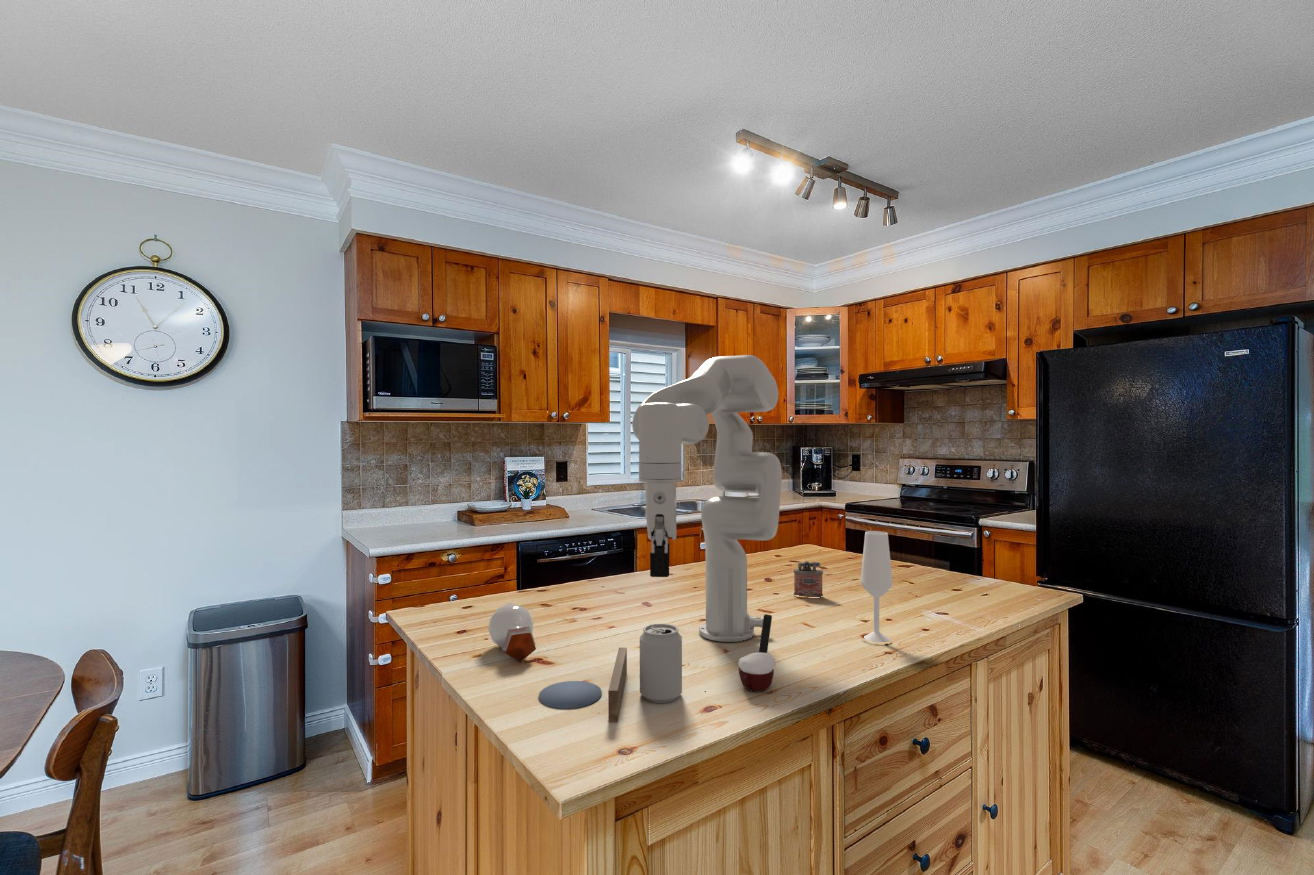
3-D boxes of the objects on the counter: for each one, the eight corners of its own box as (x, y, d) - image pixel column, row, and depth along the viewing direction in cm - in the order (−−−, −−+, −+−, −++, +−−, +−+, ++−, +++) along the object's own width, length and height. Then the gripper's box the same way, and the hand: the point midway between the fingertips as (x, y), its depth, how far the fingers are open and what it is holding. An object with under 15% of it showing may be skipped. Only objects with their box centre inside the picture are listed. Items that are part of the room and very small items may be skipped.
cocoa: (749, 701, 108) (748, 633, 107) (727, 687, 113) (726, 622, 112) (789, 686, 113) (789, 622, 112) (766, 674, 118) (765, 612, 117)
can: (678, 706, 105) (678, 636, 105) (635, 703, 106) (635, 633, 106) (685, 689, 112) (685, 622, 112) (644, 685, 113) (644, 620, 113)
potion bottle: (511, 644, 140) (526, 676, 126) (476, 625, 136) (487, 655, 122) (536, 610, 141) (553, 637, 128) (501, 589, 137) (515, 615, 124)
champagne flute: (885, 647, 133) (885, 536, 133) (855, 640, 138) (855, 533, 138) (897, 640, 138) (897, 532, 138) (868, 633, 143) (868, 529, 143)
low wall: (626, 673, 119) (626, 647, 119) (617, 721, 99) (617, 690, 99) (619, 673, 119) (618, 647, 119) (608, 721, 99) (608, 690, 99)
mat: (604, 682, 115) (604, 681, 115) (597, 709, 104) (597, 707, 104) (545, 682, 115) (545, 680, 115) (532, 708, 104) (532, 706, 104)
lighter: (794, 597, 174) (794, 562, 174) (793, 594, 177) (793, 559, 177) (823, 599, 173) (823, 563, 173) (822, 595, 176) (822, 560, 176)
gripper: (682, 476, 100) (682, 582, 100) (680, 470, 117) (680, 560, 117) (636, 476, 100) (636, 581, 100) (641, 470, 118) (641, 560, 118)
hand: (660, 570), depth 109 cm, fingers open, 9 cm apart
